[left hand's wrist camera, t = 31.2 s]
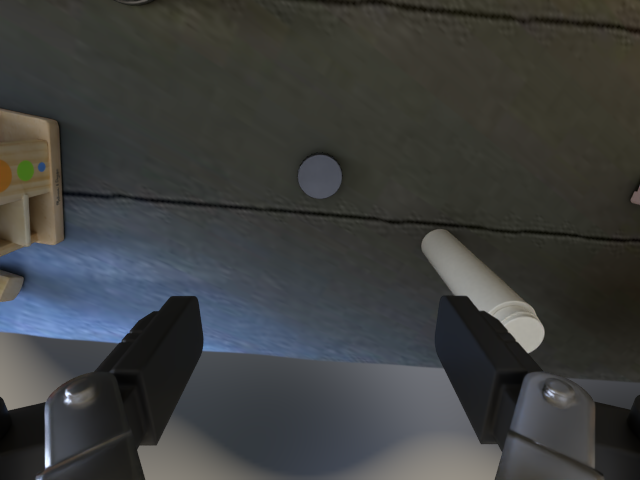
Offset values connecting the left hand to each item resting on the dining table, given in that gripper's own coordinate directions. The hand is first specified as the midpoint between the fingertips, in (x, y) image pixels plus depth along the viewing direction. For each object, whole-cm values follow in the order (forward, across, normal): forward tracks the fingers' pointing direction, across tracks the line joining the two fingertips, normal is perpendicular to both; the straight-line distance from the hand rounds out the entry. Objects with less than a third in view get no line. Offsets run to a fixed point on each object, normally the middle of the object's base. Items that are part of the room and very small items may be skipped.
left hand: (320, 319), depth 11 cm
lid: (+28, 0, 0) cm, 28 cm away
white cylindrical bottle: (+30, +14, -9) cm, 34 cm away
